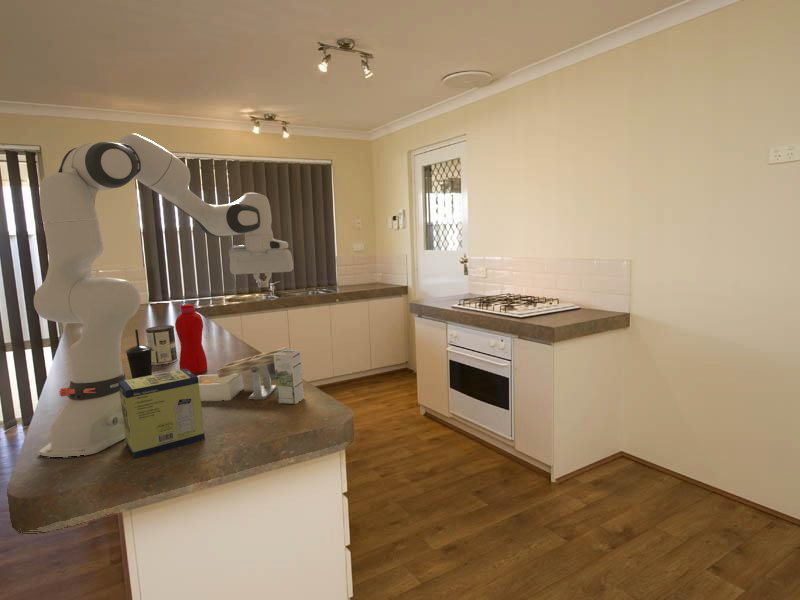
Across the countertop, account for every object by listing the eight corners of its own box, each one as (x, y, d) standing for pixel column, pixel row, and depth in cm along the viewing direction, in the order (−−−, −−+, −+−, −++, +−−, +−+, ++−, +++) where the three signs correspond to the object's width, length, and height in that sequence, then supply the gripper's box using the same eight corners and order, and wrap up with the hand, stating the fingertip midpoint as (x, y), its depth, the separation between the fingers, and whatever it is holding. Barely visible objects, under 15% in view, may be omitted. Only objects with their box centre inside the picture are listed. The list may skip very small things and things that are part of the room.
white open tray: (230, 400, 146) (228, 383, 145) (184, 401, 147) (182, 385, 146) (243, 388, 157) (242, 373, 156) (200, 390, 158) (198, 375, 157)
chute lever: (299, 364, 161) (292, 342, 160) (287, 376, 146) (279, 352, 146) (241, 380, 162) (234, 358, 161) (224, 393, 148) (216, 370, 147)
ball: (212, 386, 149) (200, 380, 149) (207, 397, 150) (195, 392, 150) (217, 382, 153) (206, 376, 153) (213, 393, 154) (201, 388, 154)
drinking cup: (125, 392, 160) (117, 331, 157) (146, 385, 166) (139, 327, 164) (140, 395, 156) (132, 332, 154) (161, 388, 163) (154, 328, 160)
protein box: (125, 445, 117) (116, 380, 115) (194, 427, 126) (187, 367, 124) (133, 459, 108) (124, 390, 106) (206, 439, 118) (199, 375, 116)
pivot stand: (265, 399, 145) (262, 366, 144) (248, 399, 146) (245, 367, 144) (276, 387, 157) (274, 356, 156) (261, 387, 157) (258, 357, 156)
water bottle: (213, 372, 179) (206, 304, 176) (180, 377, 175) (172, 307, 172) (212, 366, 188) (205, 301, 185) (181, 371, 184) (173, 304, 181)
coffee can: (167, 357, 208) (164, 324, 206) (183, 360, 202) (179, 325, 200) (144, 363, 199) (140, 329, 197) (159, 366, 194) (155, 330, 192)
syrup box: (304, 398, 144) (300, 349, 143) (295, 405, 139) (291, 354, 137) (287, 397, 146) (283, 349, 144) (276, 404, 140) (272, 354, 138)
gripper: (224, 246, 158) (228, 289, 160) (287, 242, 157) (291, 286, 159) (231, 245, 164) (235, 287, 166) (292, 242, 163) (296, 284, 165)
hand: (263, 286), depth 162 cm, fingers closed
